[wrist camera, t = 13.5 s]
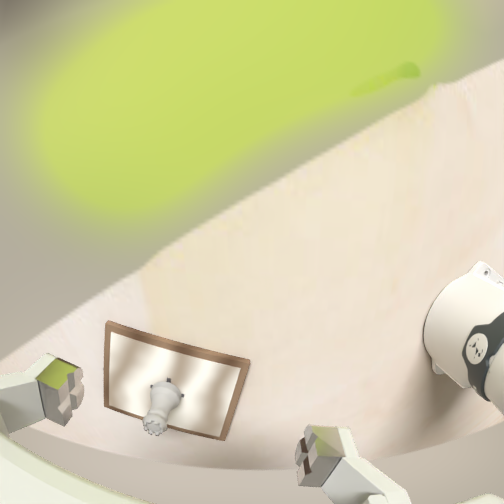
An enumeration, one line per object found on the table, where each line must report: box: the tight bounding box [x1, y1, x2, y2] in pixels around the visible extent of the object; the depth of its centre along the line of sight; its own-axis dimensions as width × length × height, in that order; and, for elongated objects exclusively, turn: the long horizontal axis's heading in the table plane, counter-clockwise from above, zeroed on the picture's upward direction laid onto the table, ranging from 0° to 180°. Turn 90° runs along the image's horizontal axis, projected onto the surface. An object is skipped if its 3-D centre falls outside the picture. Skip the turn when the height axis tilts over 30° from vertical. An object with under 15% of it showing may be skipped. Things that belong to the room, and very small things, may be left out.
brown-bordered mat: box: [104, 320, 250, 441], centre depth 40 cm, size 20×16×1 cm
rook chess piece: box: [143, 382, 181, 436], centre depth 36 cm, size 4×4×8 cm
